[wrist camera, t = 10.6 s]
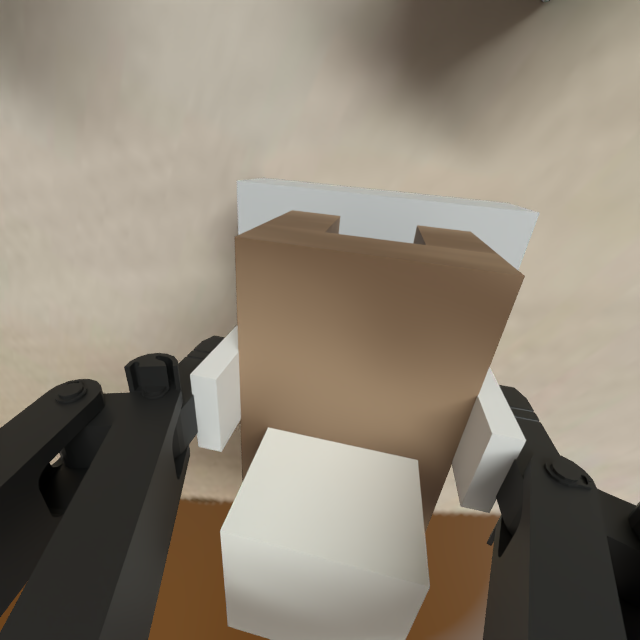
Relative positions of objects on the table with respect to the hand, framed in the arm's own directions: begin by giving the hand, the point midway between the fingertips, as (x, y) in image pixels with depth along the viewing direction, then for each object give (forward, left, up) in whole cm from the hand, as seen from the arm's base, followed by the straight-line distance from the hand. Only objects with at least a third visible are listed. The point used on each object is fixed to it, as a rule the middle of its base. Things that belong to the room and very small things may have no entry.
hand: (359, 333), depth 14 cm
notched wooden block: (0, -3, 0) cm, 3 cm away
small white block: (0, -4, +5) cm, 6 cm away
